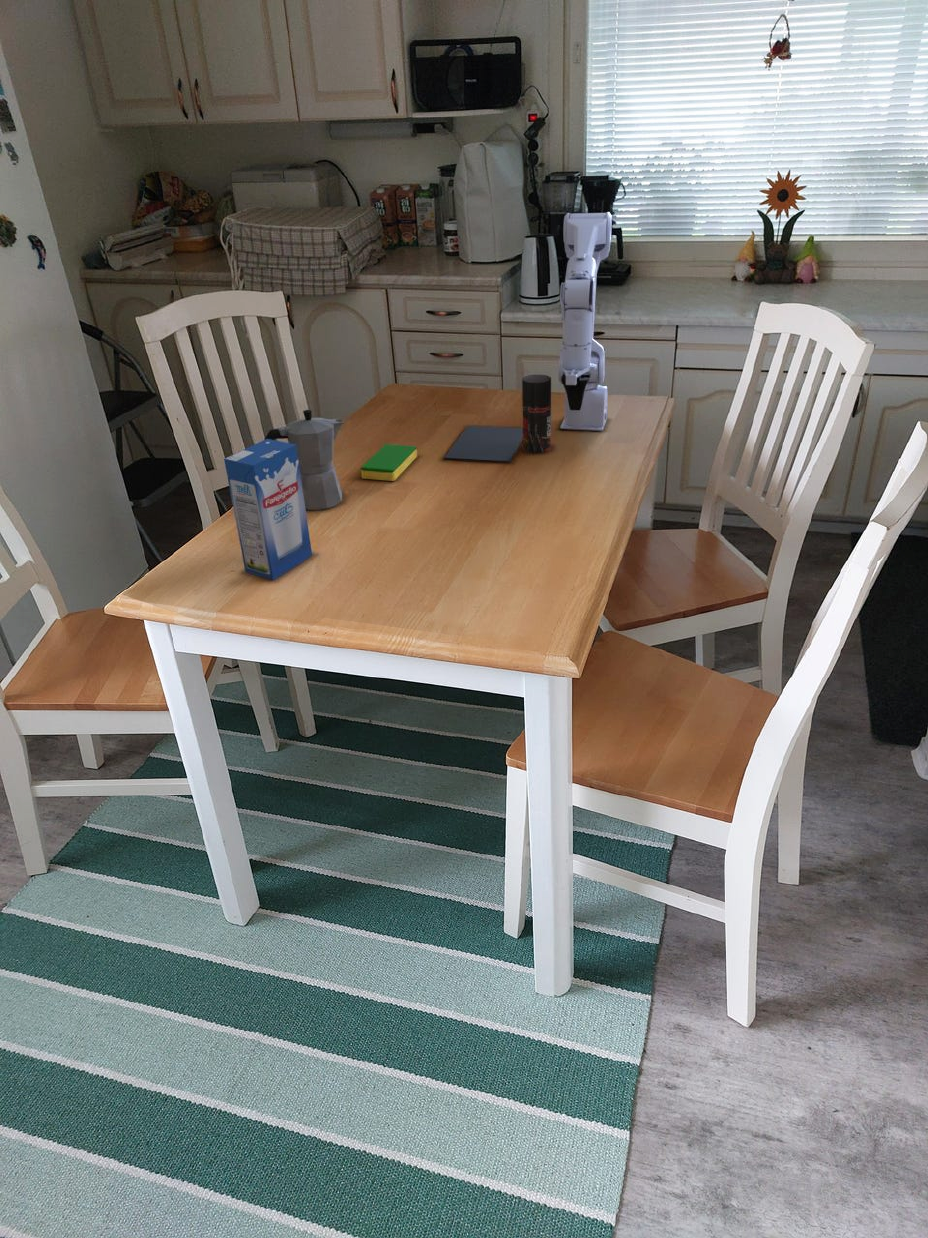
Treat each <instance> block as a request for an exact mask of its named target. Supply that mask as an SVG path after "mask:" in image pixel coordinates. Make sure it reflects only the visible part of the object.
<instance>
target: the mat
mask: <svg viewBox="0 0 928 1238" xmlns="http://www.w3.org/2000/svg"><path fill="white" fill-rule="evenodd" d="M521 443H523V427H512V426H511V427H508V426H489V425H488V426H487V425H470V424H469V425H467V426H466V427H465V428H464V430H463V431H462V433H461V434H460V436H459V437H458V438H457V440H456V441H455V442H454V443H453V445H452V446H451V448H450V449H449V450H448V451H447V453H446V455H445V456H444V458H443V460H446V461H447V460H448V461H468V462H485V463H486V462H487V463H500V464H501V463H502V464H503V463H504V464H510V463H511V461H512V459H513V458H514V456H515V454H516V452H517V451H518V450H519V447H520V446H521Z"/></svg>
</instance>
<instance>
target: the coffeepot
mask: <svg viewBox="0 0 928 1238" xmlns="http://www.w3.org/2000/svg"><path fill="white" fill-rule="evenodd" d="M302 413H303V416H304V418H299V419H297V420H295V421H291V422H288V423H286V425H285V426H282V427H278V428H273V429H270V430H269V431H268V433H267V434H266V436H265V437H264V438H263V440H265V439H271V440H284V439H286V440H287V443H291V444H296V448H297V454H298V461H299V468H300V475H301V482H302V489H303V496H304V502H305V509H306V510H307V511H321V510H322V511H323V510H327V509H331V508H334V507H336V506H338V505H339V504H341V503H342V501H343V492H342V488H341V486H340V482H339V478H338V475H337V472H336V469H335V466H334V463H333V459H334V443H335V441H336V438H337V437H338V433H339V431H340V429H341V427H342V426H343V425H344V424H345V422H344V421H343V420H342V419H337V418H324V417H312V415H313V410H312V409H305V410H303V411H302Z"/></svg>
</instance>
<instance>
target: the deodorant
mask: <svg viewBox="0 0 928 1238" xmlns="http://www.w3.org/2000/svg"><path fill="white" fill-rule="evenodd" d="M521 383H522V384H521V387H522V388H521V392H522V393H521V394H522V395H521V396H522V397H521V398H522V399H521V400H522V403H521V405H522V406H521V407H522V428H523V440H522V450H523V452H525V453H529V454H543V453H548V452H549V451H550V450H551V448H552V430H551V429H552V377H551V376H550V375H546V374H529V375H526V376H525V375H524V376H523V377H522V378H521Z"/></svg>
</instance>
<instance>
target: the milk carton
mask: <svg viewBox="0 0 928 1238" xmlns="http://www.w3.org/2000/svg"><path fill="white" fill-rule="evenodd" d="M264 439H265V438H264ZM264 439H263V440H260V441H259V442H257V443H255V444H253V445H251V446H248V447H246V448H244V449H242V450H240V451H238V452H236V453H233V454H231V455H230V456H227V457H225V458H224V459H223V461H224V467H225V472H226V476H227V481H228V486H229V492H230V498H231V504H232V509H233V514H234V518H235V524H236V528H237V535H238V539H239V546H240V550H241V556H242V560H243V565H244V571H245V573H247V574H251V575H254V576H257V577H261V578H265V579H267V580H271V581H275V580H277V579H278V578H279V577H281V576H283V575H284V574H286V573H287V572H289V571H291V570H292V569H294V568H295V567H297V566H299V565H300V564H302V563H303V562H305V561H307V560H308V559H309V558H311V557H312V556H313V552H312V551H313V550H312V544H311V537H310V530H309V523H308V516H307V511H306V510H307V509H305V502H304V496H303V489H302V482H301V475H300V468H299V461H298V454H297V448H296V444H291V443H289V442H287V441H286V442H285V441H281V440H277V439H275V440H271V439H265V440H264Z"/></svg>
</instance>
